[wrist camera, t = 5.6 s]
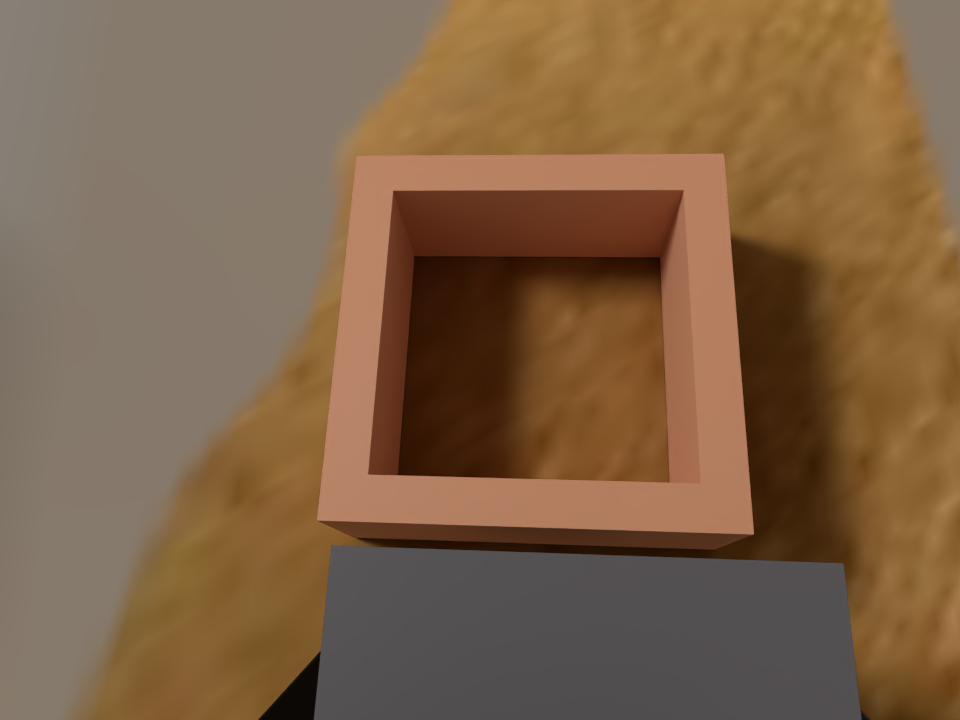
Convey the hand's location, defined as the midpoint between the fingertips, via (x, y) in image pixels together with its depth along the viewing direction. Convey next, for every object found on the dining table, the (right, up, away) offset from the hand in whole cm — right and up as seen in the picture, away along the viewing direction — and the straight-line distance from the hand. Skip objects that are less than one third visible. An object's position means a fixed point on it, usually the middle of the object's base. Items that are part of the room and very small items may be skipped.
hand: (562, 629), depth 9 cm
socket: (0, +3, +11) cm, 11 cm away
